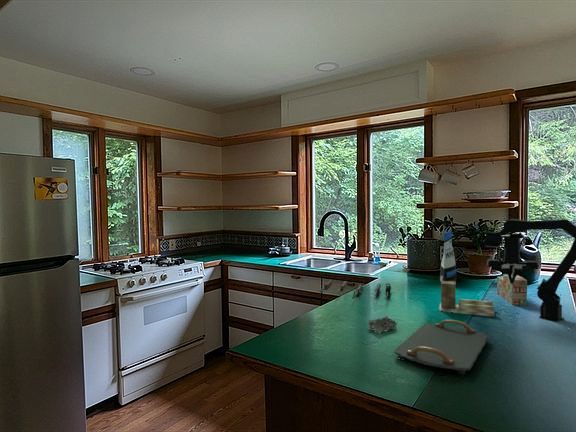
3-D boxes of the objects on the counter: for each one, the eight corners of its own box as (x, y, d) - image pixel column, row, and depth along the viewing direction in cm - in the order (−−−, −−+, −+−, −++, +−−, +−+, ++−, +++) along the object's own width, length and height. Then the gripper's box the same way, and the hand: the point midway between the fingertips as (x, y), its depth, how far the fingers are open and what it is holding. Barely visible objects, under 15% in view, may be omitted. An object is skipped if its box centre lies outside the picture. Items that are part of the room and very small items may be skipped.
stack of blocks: (496, 294, 196) (496, 270, 196) (509, 294, 195) (509, 271, 194) (512, 305, 175) (512, 279, 175) (527, 305, 174) (527, 279, 173)
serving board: (426, 327, 149) (426, 312, 149) (492, 340, 135) (492, 323, 134) (388, 363, 118) (388, 343, 118) (468, 383, 104) (468, 361, 104)
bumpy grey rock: (377, 335, 142) (377, 324, 142) (365, 329, 149) (365, 318, 149) (399, 330, 146) (399, 320, 146) (387, 324, 153) (386, 314, 153)
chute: (492, 310, 168) (492, 301, 168) (494, 316, 159) (494, 307, 159) (439, 305, 177) (439, 297, 177) (439, 311, 168) (439, 302, 168)
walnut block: (455, 305, 173) (455, 281, 172) (455, 308, 167) (455, 284, 167) (441, 304, 175) (441, 280, 175) (441, 307, 170) (441, 283, 169)
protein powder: (435, 283, 222) (435, 233, 221) (444, 276, 242) (443, 230, 241) (453, 285, 217) (452, 234, 215) (459, 277, 237) (459, 230, 236)
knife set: (317, 300, 187) (317, 284, 187) (329, 288, 219) (329, 275, 219) (389, 306, 177) (389, 290, 177) (391, 292, 208) (391, 279, 208)
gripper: (533, 246, 166) (533, 281, 167) (486, 245, 174) (486, 278, 174) (538, 249, 156) (538, 286, 157) (488, 248, 164) (488, 283, 164)
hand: (511, 283), depth 163 cm, fingers closed
